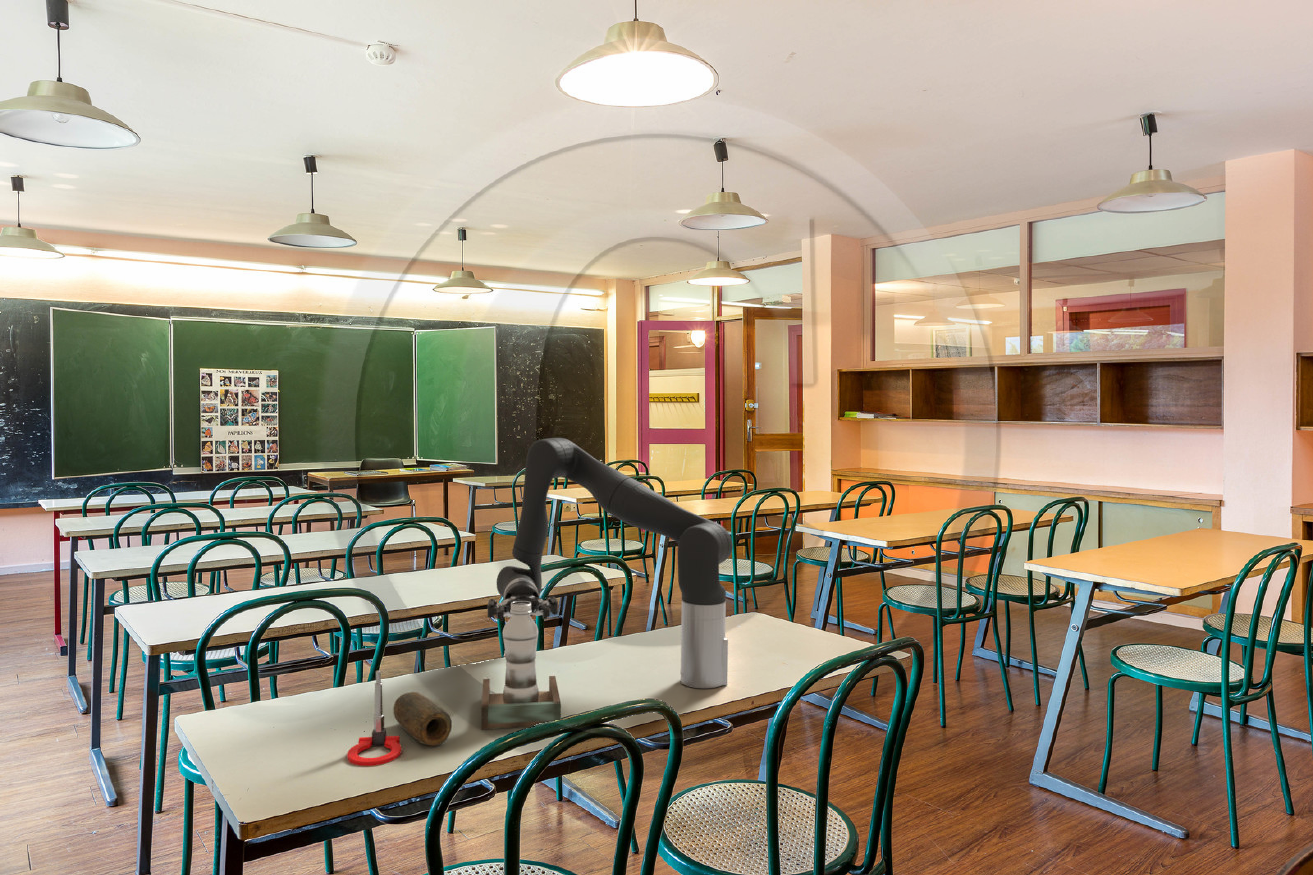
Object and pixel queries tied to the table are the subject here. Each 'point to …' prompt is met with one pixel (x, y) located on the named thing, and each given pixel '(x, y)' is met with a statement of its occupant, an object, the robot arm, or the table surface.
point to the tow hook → (376, 736)
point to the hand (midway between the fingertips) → (523, 615)
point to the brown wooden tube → (422, 718)
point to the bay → (519, 709)
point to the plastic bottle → (520, 655)
